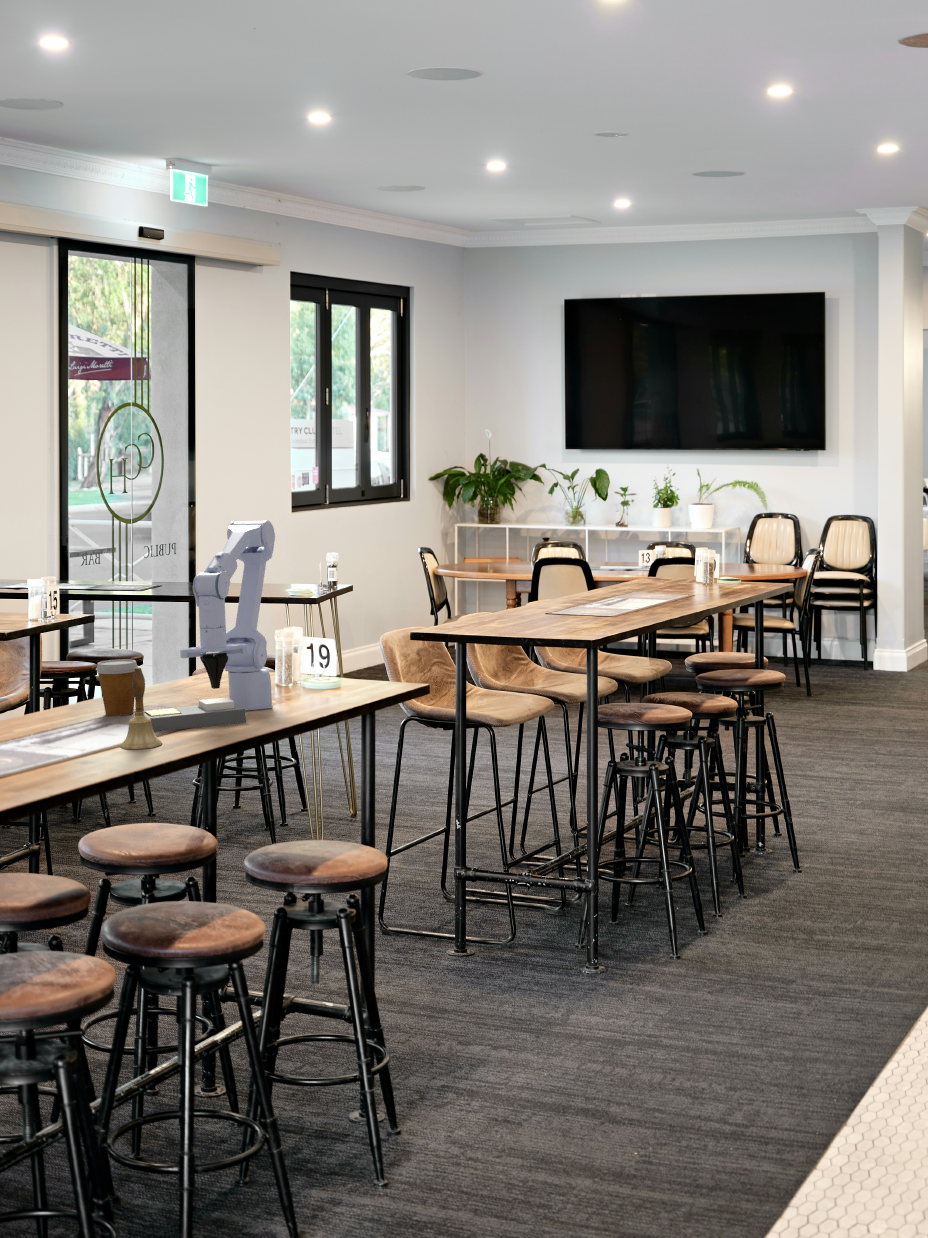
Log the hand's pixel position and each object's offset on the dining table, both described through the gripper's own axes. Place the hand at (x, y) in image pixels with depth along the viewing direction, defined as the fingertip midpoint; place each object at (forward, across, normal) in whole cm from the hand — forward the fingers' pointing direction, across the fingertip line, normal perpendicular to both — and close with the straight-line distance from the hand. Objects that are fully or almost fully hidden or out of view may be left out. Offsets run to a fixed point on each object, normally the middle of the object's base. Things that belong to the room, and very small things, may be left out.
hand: (215, 688), depth 325 cm
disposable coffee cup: (+8, -17, +22) cm, 29 cm away
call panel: (+7, -6, 0) cm, 10 cm away
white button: (+6, 0, 0) cm, 6 cm away
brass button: (+7, -12, 0) cm, 14 cm away
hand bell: (+8, -21, -19) cm, 29 cm away
